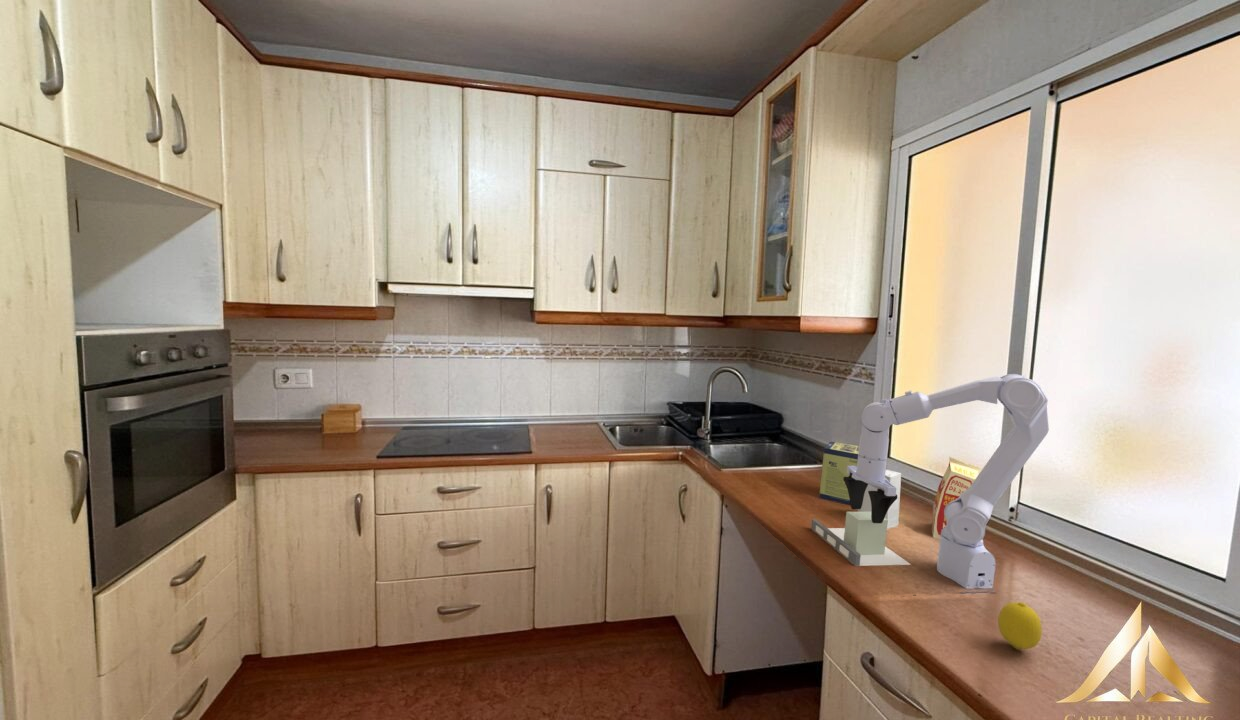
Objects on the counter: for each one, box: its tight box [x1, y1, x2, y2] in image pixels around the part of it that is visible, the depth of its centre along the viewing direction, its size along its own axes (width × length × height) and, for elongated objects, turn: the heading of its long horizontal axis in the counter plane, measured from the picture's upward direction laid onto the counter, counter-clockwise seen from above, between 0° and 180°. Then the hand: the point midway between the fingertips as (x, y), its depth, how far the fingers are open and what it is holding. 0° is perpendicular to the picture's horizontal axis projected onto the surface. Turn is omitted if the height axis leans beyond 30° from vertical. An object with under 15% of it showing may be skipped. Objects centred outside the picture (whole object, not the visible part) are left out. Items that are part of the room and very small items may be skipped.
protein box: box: [818, 441, 859, 506], centre depth 146 cm, size 10×16×16 cm
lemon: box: [997, 601, 1043, 650], centre depth 81 cm, size 6×6×8 cm
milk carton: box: [931, 456, 984, 540], centre depth 124 cm, size 9×9×20 cm
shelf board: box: [810, 518, 912, 567], centre depth 114 cm, size 18×13×4 cm
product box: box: [844, 511, 888, 555], centre depth 111 cm, size 5×7×8 cm
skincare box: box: [857, 469, 902, 530], centre depth 128 cm, size 8×6×15 cm
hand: (866, 515), depth 111 cm, fingers open, 7 cm apart
